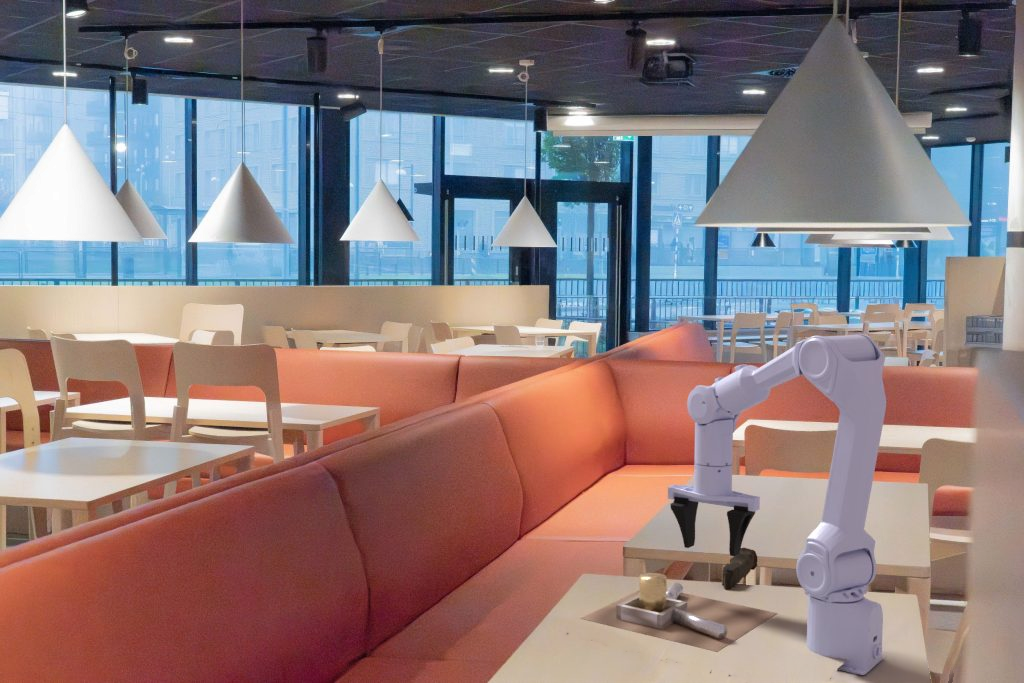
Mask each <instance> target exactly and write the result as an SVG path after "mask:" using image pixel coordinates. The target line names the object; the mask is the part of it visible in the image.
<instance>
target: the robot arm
mask: <svg viewBox="0 0 1024 683" xmlns="http://www.w3.org/2000/svg"><path fill="white" fill-rule="evenodd" d="M885 360H886V355H885V354H884V352H883V351H882V350H881V348H880V347H879V345H878V344H877V343H876V341H875V340H874V339H873V338H872V337H871V336H869V335H867V334H866V333H855V334H854V333H853V334H847V335H830V336H829V335H828V336H827V335H826V336H825V335H813V336H810V337H808V338H807V339H805V340H801V341H798V342H796V343H795V345H793V347H791V348H789V349H788V350H786V351H784V352H783V353H781V354H779V355H778V356H776V357H774V358H773V359H772V360H771V359H770V360H769V361H768V362H766V363H765V364H763V365H761V366H760V367H758V366H756V365H751V364H750V365H749V364H739V365H736V366H734V372H732V373H730V374H728V375H727V376H725V377H723V376H719V377H717V378H715V379H714V383H712V384H711V385H705V384H704V385H701V384H700V385H696V386H695V387H694V388H693V389H691V391H690V392H689V394H688V397H687V401H686V402H687V403H686V406H687V413H688V415H689V417H690V418H691V420H692V421H694V466H693V467H694V468H693V471H694V472H693V473H694V474H693V476H694V477H693V478H694V479H693V481H694V482H693V486H692V485H678V484H672V485H669V486H667V499H668V500H673V502H671V503H670V509H671V511H672V514H673V515H674V516H675V519H676V521H677V524H678V526H679V529H680V533H681V537H682V541H683V545H684V548H686V549H689V548H692V547H694V546H695V544H696V542H695V541H696V521H697V520H696V519H697V511H698V508H699V507H698V506H699V503H701V504H708V505H716V506H721V507H730V508H733V509H731V510H727V511H726V516H727V520H728V521H727V522H728V528H729V529H728V530H729V548H728V549H729V551H728V552H729V556H731V557H734V556H736V555H738V554H740V549H741V548H742V544H743V541H744V538H745V534H746V532H747V530H748V527H749V525H750V523H751V521H752V520H753V517H755V514H756V512H757V511H759V510H760V505H761V504H760V503H761V502H760V500H761V497H760V496H758V495H757V496H756V495H751V494H748V493H743V492H739V491H734V490H733V449H734V448H733V444H734V443H733V442H734V433H735V431H736V430H737V421H738V419H739V417H740V416H741V414H742V412H745V411H747V410H749V409H751V408H753V407H755V406H757V405H759V404H761V403H763V402H765V401H766V400H767V399H768V398H769V396H770V394H771V389H772V388H774V387H777V386H779V385H781V384H784V383H787V382H789V381H791V380H793V379H796V378H798V377H801V376H804V377H805V379H807V381H808V382H809V383H810V384H811V385H813V386H814V387H815V388H817V390H819V392H821V393H822V394H823V395H824V396H825V397H826V398H827V399H829V400H830V401H831V402H833V403H834V404H835V405H836V407H837V409H838V410H839V417H838V424H837V429H836V435H835V441H834V446H833V452H832V453H833V454H832V458H831V463H830V470H829V476H828V482H827V488H826V494H825V500H824V504H823V511H822V517H821V521H820V523H819V524H818V526H816V528H815V529H813V531H811V533H809V535H808V536H807V538H806V541H805V546H804V549H803V551H802V552H801V554H799V556H798V558H797V561H796V566H795V568H796V570H795V571H796V576H797V580H798V583H799V584H800V586H801V588H802V589H803V590H804V594H805V595H806V596H807V614H806V616H807V618H806V619H807V620H806V621H807V623H806V648H807V649H808V650H809V651H810V652H812V653H814V654H816V655H819V656H823V657H827V658H835V659H841V660H845V662H843V663H842V664H841V665H840V666H839V667H837V670H839V671H842V672H843V671H844V672H847V673H852V674H856V675H860V676H864V675H866V674H868V672H870V671H871V670H872V669H874V668H875V666H876V665H878V664H879V663H880V662H881V661H882V660H883V659H884V655H883V654H882V652H883V629H884V628H883V624H884V623H883V621H884V620H883V618H884V617H883V616H884V615H883V614H884V613H883V608H882V605H881V603H879V602H876V601H874V600H870V599H868V598H866V597H865V595H866V594H867V590H868V588H867V586H869V585H870V584H871V583H873V581H874V580H875V578H876V574H877V562H876V558H875V546H876V545H875V544H876V540H875V538H873V536H871V535H870V534H869V533H868V531H866V530H865V526H866V521H867V516H868V515H867V513H868V508H869V504H870V498H871V494H872V493H871V492H872V486H873V481H874V476H875V471H876V470H875V469H876V464H877V459H878V453H879V450H880V443H881V437H882V431H883V426H884V420H885V415H886V409H887V397H886V391H885V385H884V381H883V379H884V378H883V372H884V367H885Z"/></svg>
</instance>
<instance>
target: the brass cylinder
mask: <svg viewBox="0 0 1024 683" xmlns="http://www.w3.org/2000/svg"><path fill="white" fill-rule="evenodd" d="M638 578H639V580H638V582H639V585H638V591H639V608H640V609H645V610H649V611H654V612H658V613H661V612H663V611H665V610H666V596H667V590H668V589H667V587H668V586H667V585H668V583H667V582H668V581H667V580H668V578H667V575H665V574H663V573H659V572H645V573H641V574H640V575H638Z"/></svg>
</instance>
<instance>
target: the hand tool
mask: <svg viewBox="0 0 1024 683" xmlns="http://www.w3.org/2000/svg"><path fill="white" fill-rule="evenodd" d="M757 567H758V554H757V553H756V551H755V549H751V548H746V547H741V549H740V554H738V555H736V556H732V557H731V558H730V559H729V563H726V564H725V565H724V566H723V567H722V568H723V569H722V576H721V577H722V580H721V586H723V589H724V590H725V591H727V590H730V589H732V588H733V589H734V588H735V587H736V586H737V585H738V584H739V583H740V582H741V580H742V579H743V578H746V577H747V576H748V574H749V573H751V570H753V571H754V570H755V569H756V568H757Z"/></svg>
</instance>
